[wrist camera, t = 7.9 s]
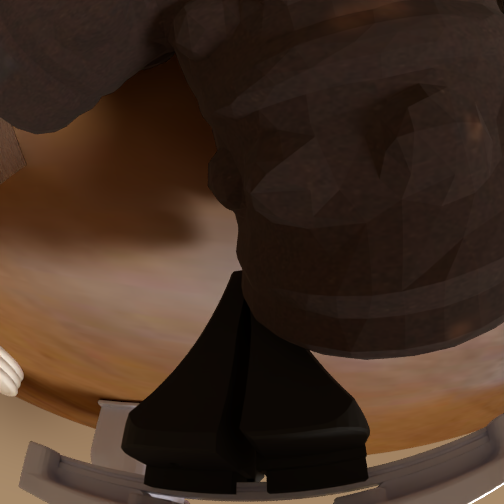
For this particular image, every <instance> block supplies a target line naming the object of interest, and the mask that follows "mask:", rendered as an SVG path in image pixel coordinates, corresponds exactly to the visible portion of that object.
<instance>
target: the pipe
mask: <svg viewBox="0 0 504 504" xmlns="http://www.w3.org/2000/svg"><path fill="white" fill-rule="evenodd" d="M175 53H176V56H177V58H178V61H179V64H180V66H181V69H182V71H183V73H184V76H185V78H186V81H187V83H188V85H189V86H190V88H191V90H192V92H193V93H194V95H195V97H196V98H197V100H198V104H199V109H200V112H201V114H202V116H203V118H204V119H205V120H206V121H207V122H208V124H209V125H210V126H211V127H212V131H213V135H214V139H215V143H216V147H217V152H216V154H215V155H214V156H213V158H212V159H211V160H210V162H209V164H208V187H209V188H210V190H211V191H212V193H213V194H214V195H215V197H216V198H217V200H218V201H219V202H220V203H221V204H222V205H223V206H224V207H225V208H227V209H229V210H232V211H233V212H234V213H235V215H236V219H237V223H238V240H237V249H236V253H237V258H238V260H239V263H240V265H241V267H242V283H241V286H242V292H243V296H244V298H245V300H246V302H247V304H248V306H249V308H250V310H251V312H252V314H253V315H254V317H255V319H256V320H257V321H258V322H259V323H261V324H262V325H263V326H265V327H266V328H267V329H269V330H270V331H271V332H273V333H274V334H275V335H277V336H278V337H280V338H282V339H284V340H286V341H288V342H291V343H293V344H295V345H298V346H300V347H303V348H305V349H308V350H311V351H314V352H317V353H320V354H323V355H330V356H338V357H346V358H355V359H364V360H369V359H384V358H396V357H406V356H415V355H420V354H425V353H429V352H434V351H438V350H442V349H447V348H451V347H454V346H457V345H459V344H461V343H464V342H466V341H468V340H471V339H473V338H475V337H477V336H479V335H481V334H483V333H486V332H488V331H490V330H492V329H494V328H496V327H497V326H499V325H500V324H502V323H503V322H504V14H503V13H502V12H501V10H500V9H499V7H498V5H497V1H496V0H0V118H2V119H3V120H5V121H6V122H8V123H10V124H11V125H13V126H14V127H16V128H18V129H21V130H24V131H27V132H30V133H34V134H43V133H51V132H56V131H58V130H60V129H62V128H64V127H66V126H67V125H68V124H70V123H71V122H72V121H73V120H74V119H75V118H77V117H78V116H79V115H81V114H83V113H85V112H87V111H89V110H91V109H92V108H93V107H94V106H95V105H96V104H97V102H98V101H99V100H100V98H101V97H102V96H104V95H107V94H110V93H113V92H114V91H116V90H117V89H118V88H120V86H121V85H122V84H123V83H124V82H125V81H126V80H128V79H129V78H130V77H132V76H133V75H135V74H136V73H137V72H138V71H140V70H143V69H148V68H151V67H153V66H156V65H159V64H161V63H164V62H166V61H167V60H168V59H170V58H171V57H172V56H173V55H174V54H175Z"/></svg>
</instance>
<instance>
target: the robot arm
mask: <svg viewBox="0 0 504 504" xmlns="http://www.w3.org/2000/svg"><path fill="white" fill-rule="evenodd" d="M241 283H242V270H241V271H234V272H233V273H232V275H231V277H230V280H229V282H228V284H227V287H226V289H225V291H224V293H223V296H222V298H221V300H220V302H219V304H218V306H217V308H216V309H215V311H214V313H213V315H212V317H211V319H210V320H209V322H208V324H207V325H206V327H205V329H204V331H203V332H202V334H201V335H200V337H199V338H198V340H197V341H196V343H195V344H194V346H193V347H192V348H191V350H190V351H189V353H188V354H187V355H186V356H185V358H184V359H183V360H182V361H181V363H180V364H179V365H178V366H177V367H176V369H175V370H174V371H173V372H172V373H171V374H170V375H169V376H168V377H167V378H166V379H165V381H164V382H163V383H162V384H161V385H160V386H159V387H158V388H157V389H156V390H155V391H154V392H153V393H151V394H150V395H149V396H148V397H147V398H146V399H145V400H143V401H142V402H141V403H128V402H116V401H106V400H98V404H99V405H100V406H101V411H100V414H99V418H98V422H97V426H96V430H95V434H94V439H93V443H92V447H91V462H92V464H90V463H86V462H82V461H79V460H75V459H72V458H69V457H66V456H62V455H60V454H59V453H57V452H56V451H54V450H52V449H50V448H48V447H46V446H43V445H41V444H38V443H35V442H33V441H30V442H29V445H28V449H27V453H26V457H25V460H24V465H23V469H22V473H21V477H20V482H19V487H20V488H21V489H23V490H25V491H27V492H29V493H30V494H32V495H34V496H36V497H38V498H39V499H41V500H43V501H45V502H47V503H49V504H190V503H189V502H188V501H187V500H184V498H187V499H198V500H212V501H213V500H214V501H275V500H276V501H278V500H292V499H302V498H310V497H319V496H326V495H333V494H339V493H344V492H350V491H355V490H360V489H364V488H369V487H373V486H377V485H379V486H378V487H377V488H374V489H370V490H366V491H362V492H358V493H354V494H350V495H346V496H342V497H337V498H336V499H335V500H334V503H333V504H471V503H473V502H475V501H477V500H479V499H480V498H482V497H484V496H485V495H487V494H489V493H491V492H492V491H494V490H495V489H497V488H499V487H500V486H502V485H504V413H503V414H501V415H500V416H498V417H496V418H495V419H493V420H492V421H491V422H490V423H489V424H488V425H487V426H486V427H484V428H482V429H480V430H478V431H476V432H474V433H471V434H469V435H467V436H465V437H462V438H460V439H458V440H455V441H453V442H450V443H448V444H445V445H442V446H440V447H437V448H434V449H432V450H429V451H426V452H423V453H420V454H417V455H414V456H411V457H407V458H404V459H401V460H397V461H394V462H390V463H386V464H382V465H378V466H374V467H370V468H367V463H366V456H367V453H366V447H365V443H366V441H367V439H368V437H369V435H370V429H369V426H368V423H367V420H366V418H365V416H364V414H363V412H362V411H361V409H360V407H359V406H358V404H357V402H356V401H355V399H354V398H353V397H352V396H351V395H350V394H349V393H348V392H347V391H346V390H345V389H344V388H343V387H342V386H341V385H340V384H339V383H338V382H337V381H336V380H335V379H334V378H333V377H332V376H331V375H330V374H329V373H328V372H327V371H326V370H325V369H324V367H323V366H322V365H321V364H320V363H319V361H318V360H317V359H316V358H315V357H314V355H313V354H312V353H311V352H310V350H308V349H305V348H303V347H300V346H298V345H295V344H293V343H291V342H288V341H286V340H284V339H282V338H280V337H278V336H277V335H275V334H274V333H273V332H271V331H270V330H269V329H267V328H266V327H265V326H263V325H262V324H261V323H259V322H258V321H257V320H256V319H255V317H254V315H253V314H252V312H251V310H250V308H249V306H248V304H247V302H246V300H245V298H244V296H243V292H242V286H241ZM264 474H265V475H266V476H267V482H260V481H261V480H262V479H263V478H264Z"/></svg>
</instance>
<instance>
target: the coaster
mask: <svg viewBox="0 0 504 504" xmlns="http://www.w3.org/2000/svg"><path fill="white" fill-rule="evenodd" d="M23 378H24V373H23V371H22V369H21V367H20V366H19V364H18V363H17V362H16V361H15V359H14V358H13V357H12V356H11V355H10V354H9V353H8V352H7V351H6V350H4V349H3V348H2V347H1V346H0V393H2V394H4V395H6V396H11V397H12V396H16V395H17V393H18V388H19V387H20V386H21V381H22V380H23Z"/></svg>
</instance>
